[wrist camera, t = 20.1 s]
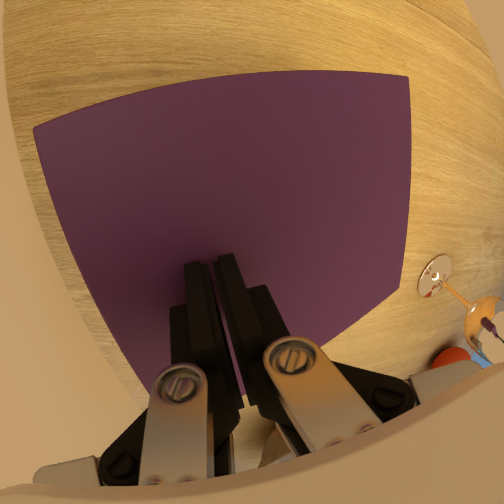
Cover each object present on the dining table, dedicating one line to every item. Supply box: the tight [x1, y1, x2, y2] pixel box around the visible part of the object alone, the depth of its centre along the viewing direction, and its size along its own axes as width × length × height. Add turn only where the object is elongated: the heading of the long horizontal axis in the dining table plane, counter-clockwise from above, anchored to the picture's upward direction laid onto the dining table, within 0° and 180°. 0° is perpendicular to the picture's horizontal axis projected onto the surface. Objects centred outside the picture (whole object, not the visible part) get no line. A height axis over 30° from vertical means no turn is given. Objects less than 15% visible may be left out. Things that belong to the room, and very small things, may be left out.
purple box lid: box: [33, 70, 411, 396], centre depth 13 cm, size 16×14×1 cm
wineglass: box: [418, 255, 504, 365], centre depth 32 cm, size 8×8×20 cm
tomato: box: [431, 347, 471, 369], centre depth 50 cm, size 10×10×10 cm
